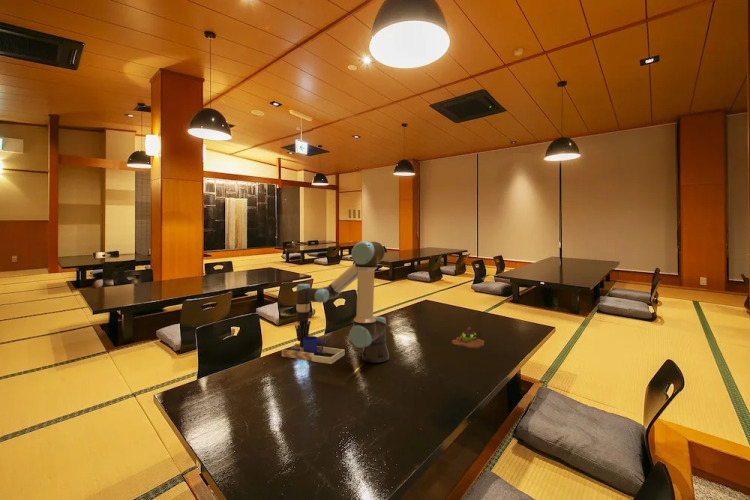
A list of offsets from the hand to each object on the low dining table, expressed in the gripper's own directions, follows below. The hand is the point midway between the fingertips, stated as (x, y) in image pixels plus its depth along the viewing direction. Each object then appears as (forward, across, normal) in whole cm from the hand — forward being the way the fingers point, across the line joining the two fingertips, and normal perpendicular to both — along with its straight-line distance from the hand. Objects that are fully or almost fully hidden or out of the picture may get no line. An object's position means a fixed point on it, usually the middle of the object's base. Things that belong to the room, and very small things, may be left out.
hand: (302, 352), depth 185 cm
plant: (+2, -55, +87) cm, 103 cm away
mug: (+2, 0, +7) cm, 7 cm away
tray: (+1, 0, +16) cm, 16 cm away
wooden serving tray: (+1, 0, +1) cm, 1 cm away
